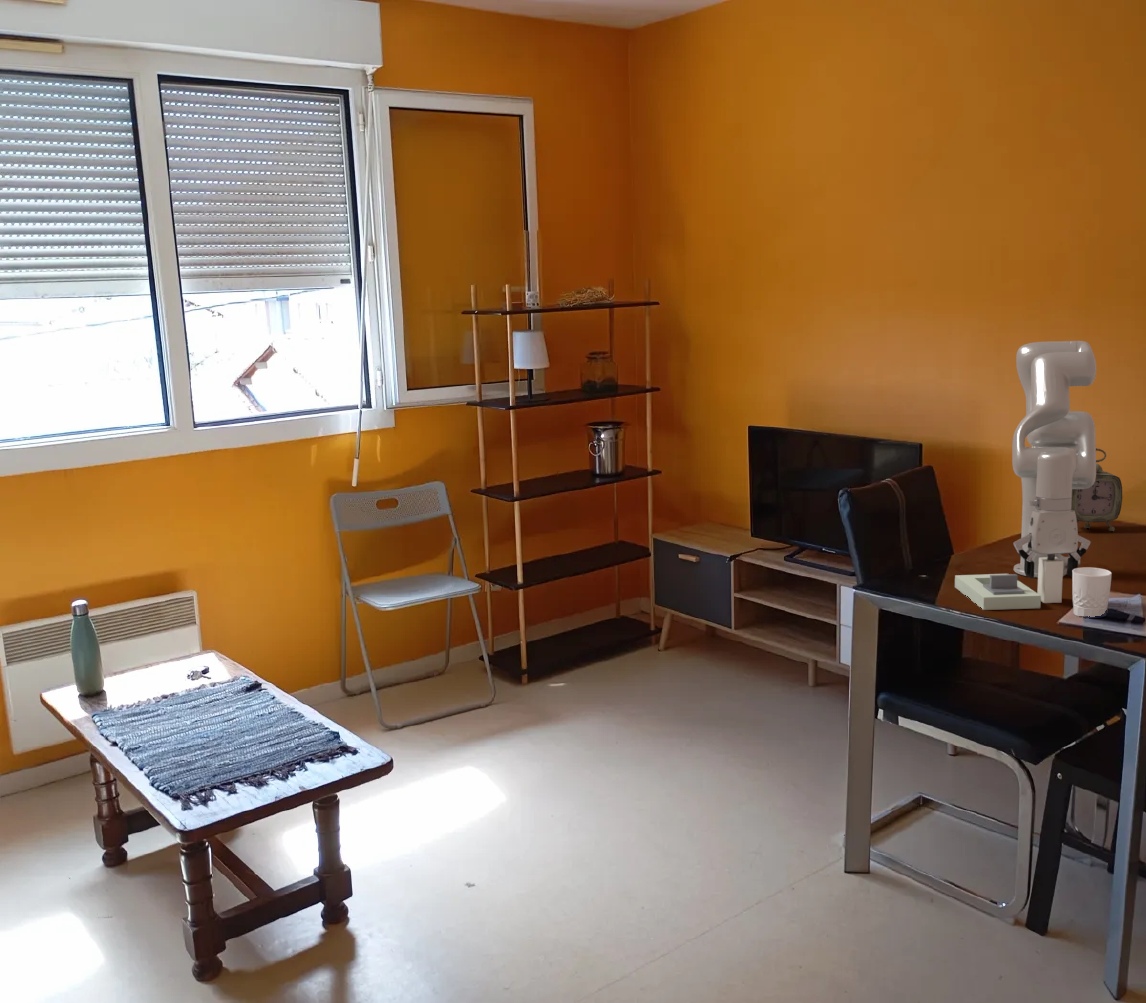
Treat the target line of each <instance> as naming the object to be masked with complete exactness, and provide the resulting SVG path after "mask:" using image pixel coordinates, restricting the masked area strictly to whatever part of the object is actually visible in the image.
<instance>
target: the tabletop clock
mask: <svg viewBox="0 0 1146 1003" xmlns="http://www.w3.org/2000/svg"><path fill="white" fill-rule="evenodd" d="M1096 452H1101V453H1102V454H1103V455H1104V456H1103V457H1102V458H1100V459H1096V478H1095V482H1094V484H1093V486H1092V487H1090V488H1088V489H1072V501H1071V510H1074V511H1075V514H1076V520H1077V524H1079V522H1082V523H1083V522H1085V523H1086V524H1084V529H1086V528H1089V529H1090V528H1091V527H1092V526H1091V524H1090V523H1101V522H1102V523H1104V522H1105V523H1106V524H1107V526H1108V531H1109V532H1110V531H1113V532H1114V531H1115V530H1116V528H1115V527H1114V526H1112V525H1111V523H1110V522H1112V521H1115V520H1116V519H1118V518H1119V516H1120V513H1121V509H1122V505H1123V504H1122V503H1123V486H1122V484H1123V483H1122V481H1121V478H1120V477H1119V476H1118V475H1115V474H1112V473H1111V472H1108V471H1104V470H1103V467H1102V465H1101V464H1098V463H1100V462H1103V461H1104V460H1105V459H1106V458H1107V453H1106V451H1104V450H1103V449H1101V448H1096Z"/></svg>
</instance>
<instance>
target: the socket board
mask: <svg viewBox="0 0 1146 1003" xmlns="http://www.w3.org/2000/svg"><path fill="white" fill-rule="evenodd" d="M1007 574H1008V573H988V574H961V575H959V574H958V575H957V574H956V575H954V588H955V589H956V590H958V591H960V593H961V594H963V595H964V596H965V595H966V596H965V597H967V596H968V597H969V598H970V599H971V600H970V599H969V598H968V597H967V598H968V599H969V600H970V601H972V602H973V603H974V604H975V603H976V604H977V605H976V604H975V605H976V606H977V607H979V608H980V607H981V608H982V609H981V608H980V609H981V610H982V611H992V610H993V611H994V610H995V611H996V610H1024V609H1027V610H1028V609H1041V602H1042V601H1041V595H1039V594H1038V593H1037V592H1036V591H1035V590H1033V589H1031V588H1030V587H1029V586H1028V585H1026V584H1024V583H1023V582H1021V581H1020V580H1019V579H1017V586H1018V587H1019V588H1021V589H1022V590H1024V594H992V593H991V592H990V591H988V590H987V589H986V588H984V587H983V584H990V575H1007Z"/></svg>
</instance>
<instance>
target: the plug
mask: <svg viewBox="0 0 1146 1003" xmlns="http://www.w3.org/2000/svg"><path fill="white" fill-rule="evenodd" d="M1063 578H1064V576H1063V561H1062V560H1060V559H1059V558H1057V557H1055V554H1047V557H1042V558H1039V566H1038V577H1037V592H1036V593H1038V594H1039V595H1041V602H1042V603H1044V604H1052V603H1053V604H1054V603H1057V604H1058V603H1059V604H1060V603H1062V600H1063V599H1062V598H1063V597H1062V596H1063Z"/></svg>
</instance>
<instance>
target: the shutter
mask: <svg viewBox="0 0 1146 1003" xmlns="http://www.w3.org/2000/svg"><path fill="white" fill-rule="evenodd" d="M1006 574H1007V575H990V584H983V587H984V588H986V589H987V590H988V591H990V592H991V593H992V594H1024V590H1022V589H1021V588H1019V587H1018V586H1017V580H1018V576H1019V574H1017V573H1013V574H1012V573H1010V574H1009V573H1006Z"/></svg>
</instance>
